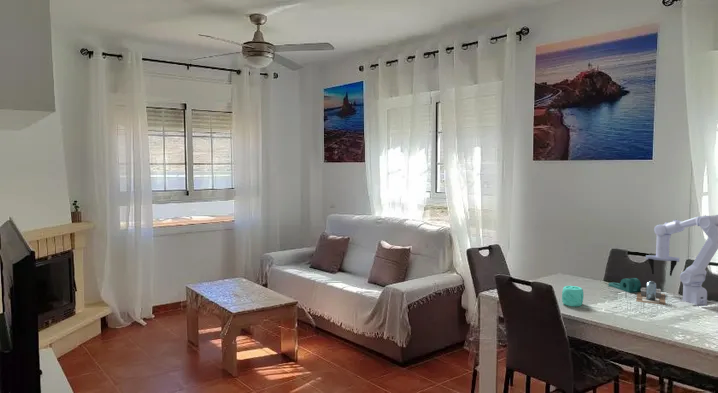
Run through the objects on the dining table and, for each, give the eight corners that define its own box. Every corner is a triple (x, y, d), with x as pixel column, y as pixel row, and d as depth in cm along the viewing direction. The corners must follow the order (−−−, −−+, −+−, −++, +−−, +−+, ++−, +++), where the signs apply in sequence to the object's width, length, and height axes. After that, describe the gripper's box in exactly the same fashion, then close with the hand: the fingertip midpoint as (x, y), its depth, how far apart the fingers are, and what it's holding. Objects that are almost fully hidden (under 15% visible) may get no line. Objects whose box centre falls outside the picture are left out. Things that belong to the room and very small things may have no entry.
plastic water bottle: (657, 300, 243) (658, 282, 243) (650, 300, 242) (651, 282, 242) (651, 298, 247) (651, 280, 247) (644, 298, 246) (644, 280, 246)
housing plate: (637, 293, 262) (637, 286, 262) (664, 296, 256) (664, 289, 256) (636, 303, 243) (636, 296, 243) (665, 306, 237) (665, 299, 237)
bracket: (640, 294, 260) (641, 279, 260) (629, 295, 259) (629, 280, 259) (616, 286, 278) (617, 272, 278) (605, 287, 277) (606, 272, 276)
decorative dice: (579, 307, 237) (580, 290, 236) (561, 304, 241) (562, 288, 241) (583, 303, 243) (583, 287, 243) (565, 301, 248) (566, 284, 247)
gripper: (679, 248, 257) (678, 274, 258) (646, 245, 264) (645, 271, 265) (680, 250, 251) (678, 277, 251) (646, 247, 258) (645, 274, 259)
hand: (661, 274), depth 258 cm, fingers open, 7 cm apart
